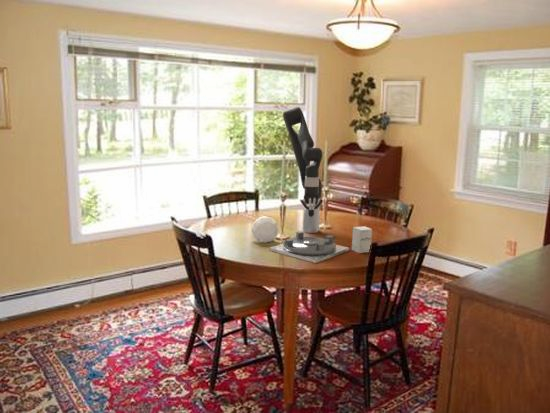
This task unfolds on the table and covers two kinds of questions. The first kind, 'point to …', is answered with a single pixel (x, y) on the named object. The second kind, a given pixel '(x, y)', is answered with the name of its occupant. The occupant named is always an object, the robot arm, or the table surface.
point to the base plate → (309, 258)
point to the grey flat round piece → (310, 245)
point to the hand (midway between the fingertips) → (311, 216)
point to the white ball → (265, 229)
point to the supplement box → (361, 239)
